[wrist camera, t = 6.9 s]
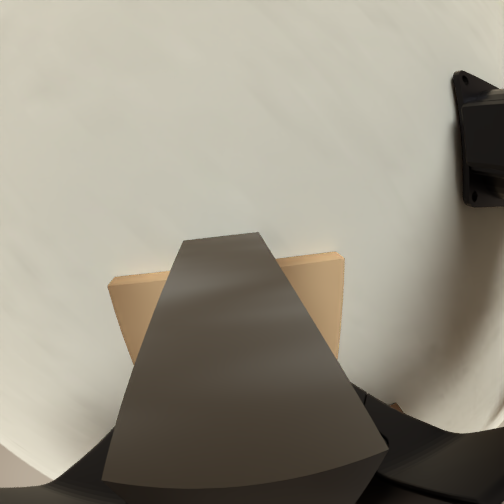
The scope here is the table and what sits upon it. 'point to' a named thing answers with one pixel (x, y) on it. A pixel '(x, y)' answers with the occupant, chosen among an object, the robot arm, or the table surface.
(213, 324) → the scraper
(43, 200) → the table surface
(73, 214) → the table surface
